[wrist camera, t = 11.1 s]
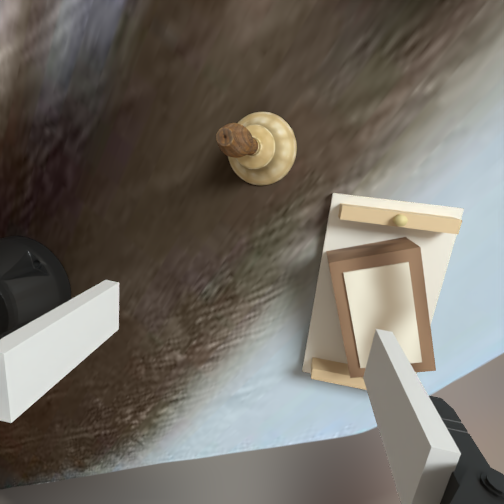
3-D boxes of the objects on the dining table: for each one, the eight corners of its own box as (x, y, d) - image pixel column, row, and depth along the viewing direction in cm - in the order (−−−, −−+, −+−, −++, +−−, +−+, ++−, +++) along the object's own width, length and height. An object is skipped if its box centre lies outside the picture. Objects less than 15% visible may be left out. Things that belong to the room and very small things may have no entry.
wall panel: (302, 367, 43) (301, 387, 39) (332, 192, 37) (335, 195, 33) (408, 388, 41) (419, 412, 37) (459, 207, 35) (479, 212, 31)
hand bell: (262, 199, 39) (231, 218, 23) (213, 151, 38) (150, 138, 23) (311, 148, 36) (313, 131, 21) (260, 96, 36) (224, 40, 20)
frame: (345, 353, 41) (350, 379, 36) (326, 251, 38) (328, 263, 33) (420, 345, 39) (436, 371, 34) (405, 236, 36) (421, 247, 31)
